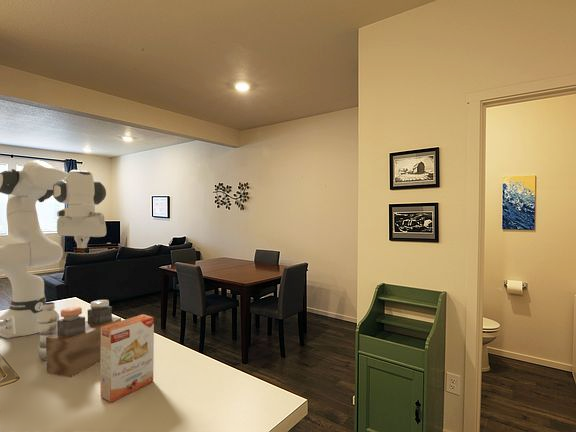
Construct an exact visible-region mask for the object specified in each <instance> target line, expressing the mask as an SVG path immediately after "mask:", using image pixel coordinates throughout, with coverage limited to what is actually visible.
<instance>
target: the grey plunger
mask: <svg viewBox="0 0 576 432" xmlns="http://www.w3.org/2000/svg"><path fill="white" fill-rule="evenodd" d="M107 306H110V301H109V299H98V300H97V299H96V300H94V301H91V302H90V306H89V307H90V309H91V308H92V309H94V310H101V309H104V308H106V307H107Z"/></svg>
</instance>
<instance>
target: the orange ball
mask: <svg viewBox="0 0 576 432" xmlns="http://www.w3.org/2000/svg"><path fill="white" fill-rule="evenodd" d="M82 311H83V309H82V307H81V306H72V307H65V308H63V309H60V317H61V318H64V320H67V321H72V320H75V319H78V318H79V316H81V315H82V314H83V312H82Z"/></svg>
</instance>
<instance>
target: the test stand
mask: <svg viewBox="0 0 576 432" xmlns="http://www.w3.org/2000/svg"><path fill="white" fill-rule="evenodd" d="M119 321H122V318H121V317H113V306H110V305H109V306H107V307H106V308H104V309H101V310H94V309H92V308H91V307H90V308H89V309H87V320H86V317H85V316H81V315H79V318H78V319H75V320H72V321H67V320H64V317H62V318H61V319H59V320H58V321H57V330H58V333H56V334H53V335H51V336H48V337H46V359H47V360H46V374H50V375H56V376H62V377H68V378H72V377H73V376H76V375H78V374H79V373H81V372H82V371H84V370H86V369H87V368H90V367H92V366H94V365H95V364H97V363H99V362H101V327H102V326H105V325H108V324H112V323H115V322H119Z"/></svg>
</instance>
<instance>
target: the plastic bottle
mask: <svg viewBox="0 0 576 432" xmlns="http://www.w3.org/2000/svg"><path fill="white" fill-rule="evenodd" d="M55 309H56V305H55V302H52V301H50V302H46V303H44V304H42V310H43V311H42V313H41V314H40V315H39V317H38V326H39V332H38V333H39V347H38V350H37V351H38V353H37V354H38V358H39V360H42V361H47V359H46V337H48V336H51V335H53V334H56V333H58V330H57V321H58V320H60V314H59V313H58V312H57V310H55Z"/></svg>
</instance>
